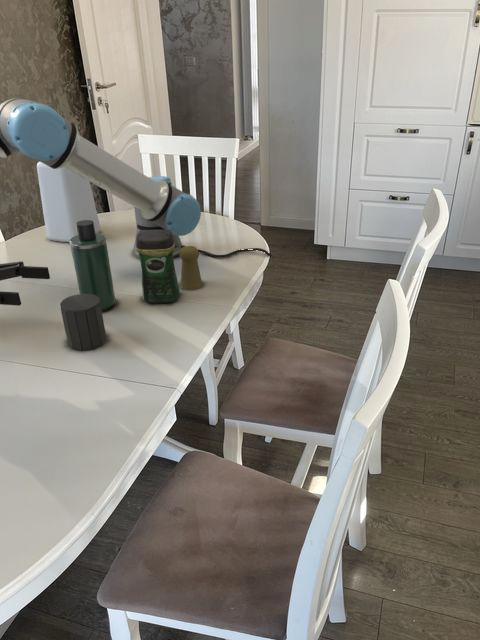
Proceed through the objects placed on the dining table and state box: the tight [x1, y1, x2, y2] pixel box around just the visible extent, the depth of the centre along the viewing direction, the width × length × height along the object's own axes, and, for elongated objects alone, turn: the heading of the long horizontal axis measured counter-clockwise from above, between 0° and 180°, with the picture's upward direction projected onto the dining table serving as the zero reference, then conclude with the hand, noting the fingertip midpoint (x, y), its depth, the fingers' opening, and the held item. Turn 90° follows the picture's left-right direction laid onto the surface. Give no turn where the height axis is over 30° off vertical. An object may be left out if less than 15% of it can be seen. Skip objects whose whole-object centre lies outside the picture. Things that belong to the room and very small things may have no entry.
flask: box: [69, 220, 117, 313], centre depth 135 cm, size 8×8×22 cm
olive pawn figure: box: [178, 245, 203, 291], centre depth 149 cm, size 6×6×11 cm
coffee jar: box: [135, 229, 181, 304], centre depth 140 cm, size 10×8×19 cm
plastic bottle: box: [36, 161, 102, 244], centre depth 179 cm, size 15×15×28 cm
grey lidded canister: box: [59, 293, 107, 351], centre depth 123 cm, size 8×8×10 cm
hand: (34, 285), depth 120 cm, fingers open, 13 cm apart
